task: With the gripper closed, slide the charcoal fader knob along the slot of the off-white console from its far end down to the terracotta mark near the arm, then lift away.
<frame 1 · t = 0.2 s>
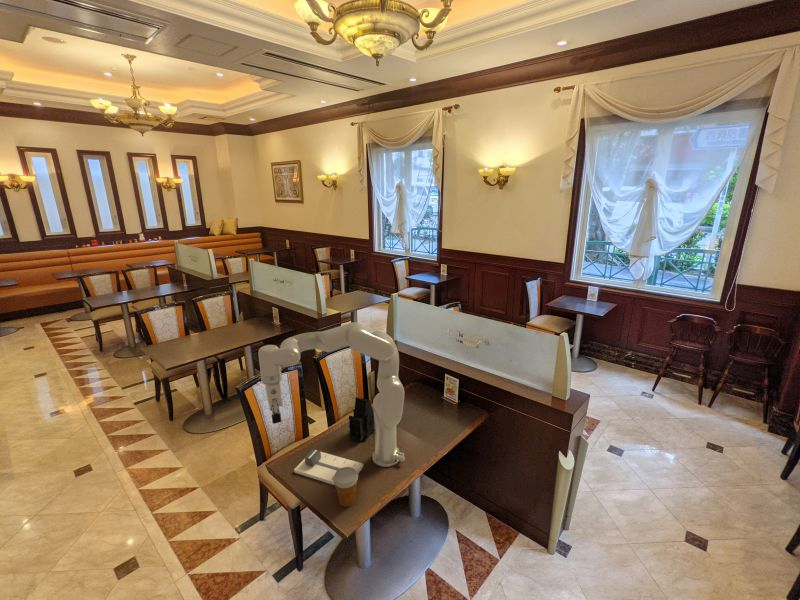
hand: (275, 416, 147), 30 cm above the table, tool pointing down, fingers open, 9 cm apart
fader console: (329, 469, 160), on the table
camera: (361, 436, 183), on the table
disposable coffee cup: (347, 500, 144), on the table
fader knob: (313, 457, 162), point 4 cm above the table, slide at 8.0 cm
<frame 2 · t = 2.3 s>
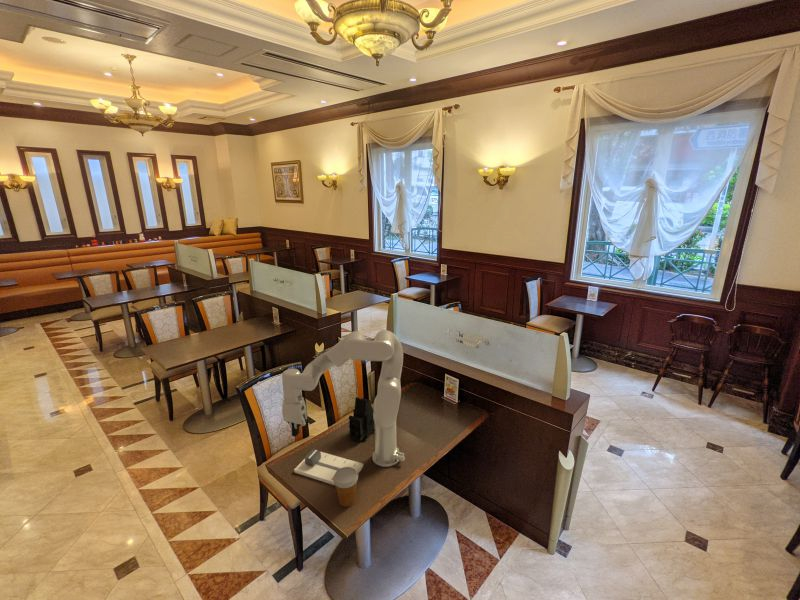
hand: (295, 434, 162), 14 cm above the table, tool pointing down, fingers closed
nothing on the table moved.
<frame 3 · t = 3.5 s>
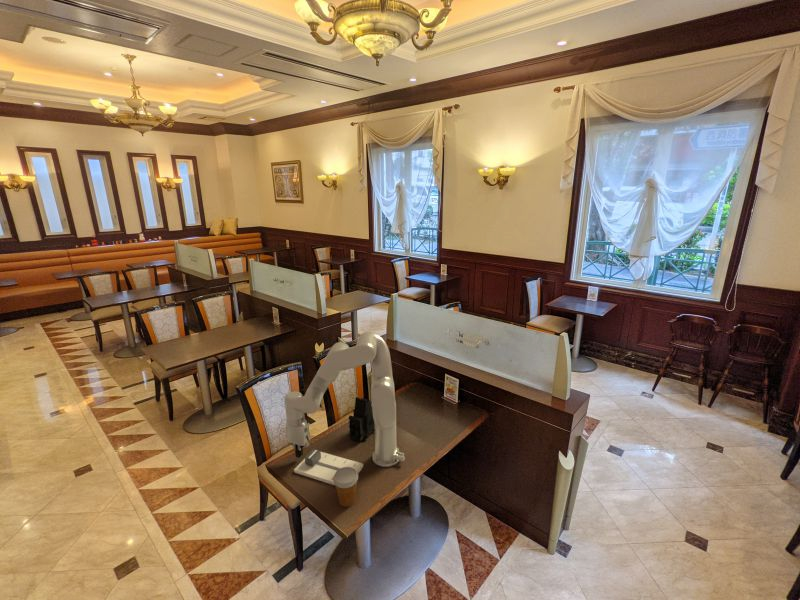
hand: (299, 455, 165), 3 cm above the table, tool pointing down, fingers closed
nothing on the table moved.
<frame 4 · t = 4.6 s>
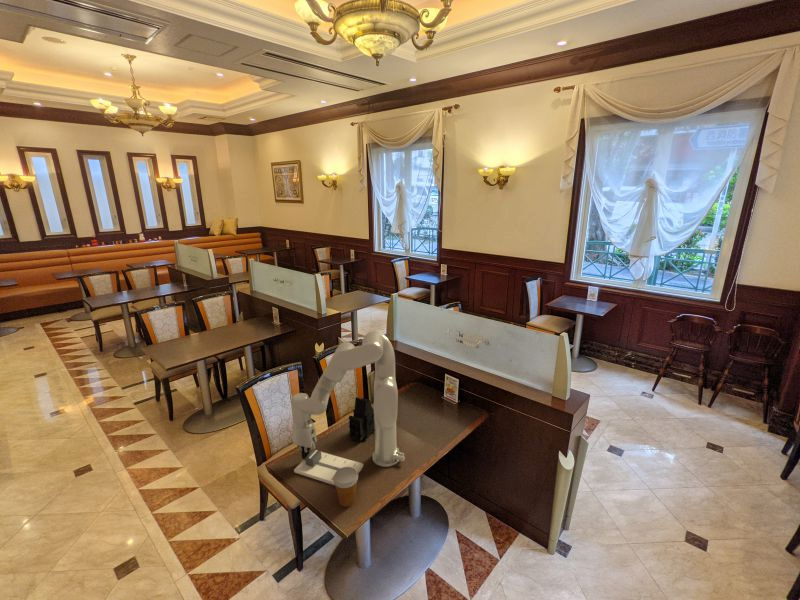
hand: (305, 457, 164), 3 cm above the table, tool pointing down, fingers closed
fader knob: (313, 457, 162), point 4 cm above the table, slide at 7.7 cm, touching gripper
everything else where it was.
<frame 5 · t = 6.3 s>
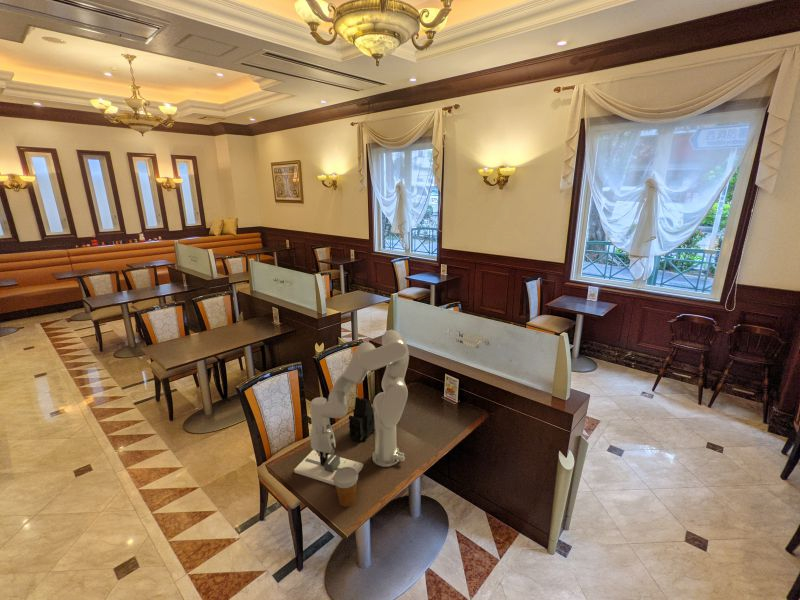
hand: (324, 462, 160), 3 cm above the table, tool pointing down, fingers closed
fader knob: (332, 463, 159), point 4 cm above the table, slide at -1.9 cm, touching gripper
everything else where it was.
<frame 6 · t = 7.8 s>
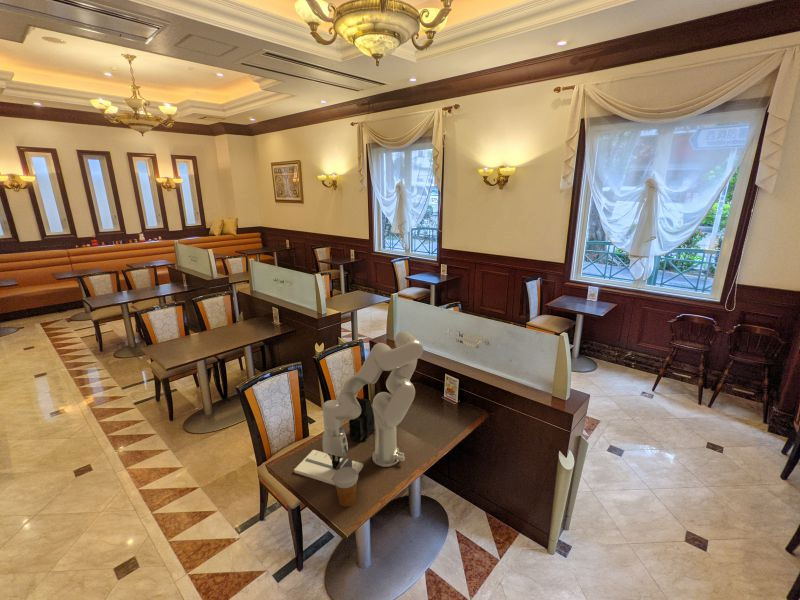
hand: (336, 466, 158), 3 cm above the table, tool pointing down, fingers closed
fader knob: (344, 466, 156), point 4 cm above the table, slide at -7.9 cm, touching gripper
everything else where it was.
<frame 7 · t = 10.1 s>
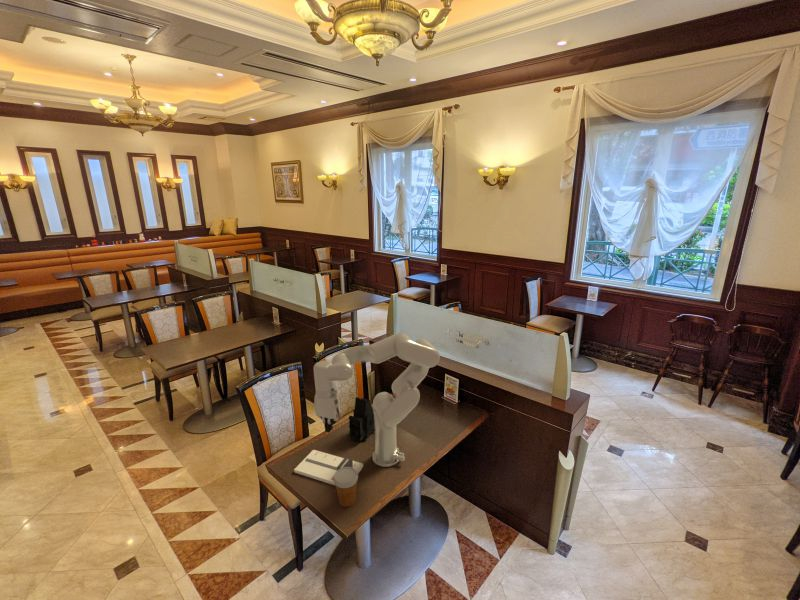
hand: (329, 430, 155), 20 cm above the table, tool pointing down, fingers closed
fader knob: (345, 466, 156), point 4 cm above the table, slide at -8.2 cm
everything else where it was.
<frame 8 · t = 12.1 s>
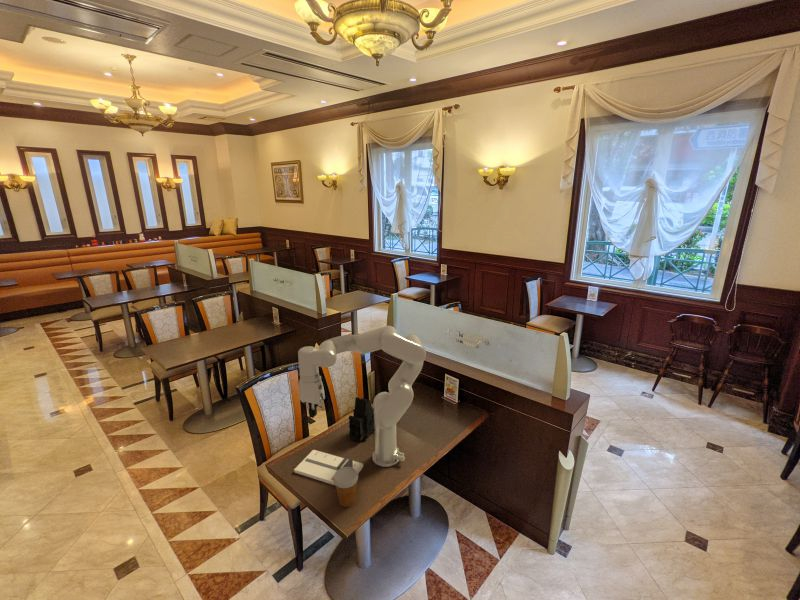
hand: (313, 415, 156), 25 cm above the table, tool pointing down, fingers closed
nothing on the table moved.
at the end: fader knob slide at -8.2 cm; disposable coffee cup moved 0.2 cm from its start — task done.
